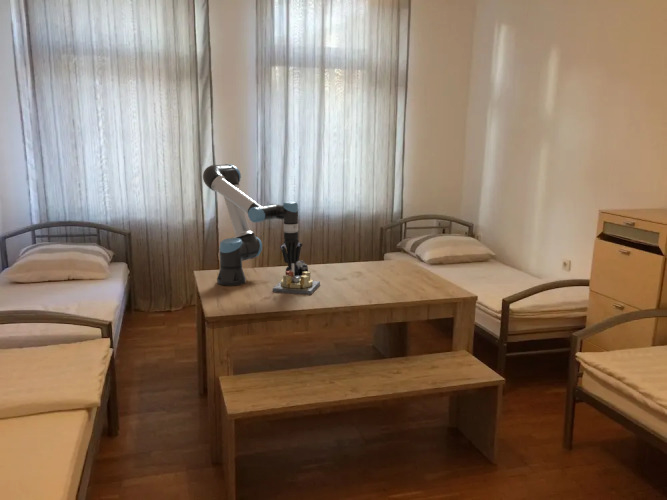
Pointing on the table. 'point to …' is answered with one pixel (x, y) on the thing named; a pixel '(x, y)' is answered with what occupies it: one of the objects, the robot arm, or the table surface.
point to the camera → (299, 268)
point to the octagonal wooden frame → (303, 283)
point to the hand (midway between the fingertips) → (291, 275)
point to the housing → (296, 290)
